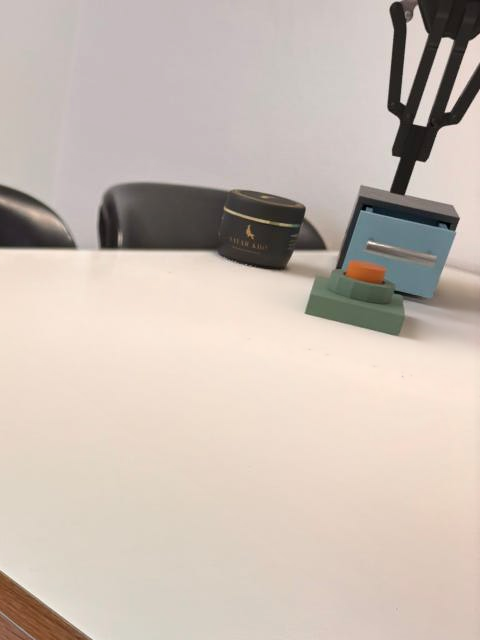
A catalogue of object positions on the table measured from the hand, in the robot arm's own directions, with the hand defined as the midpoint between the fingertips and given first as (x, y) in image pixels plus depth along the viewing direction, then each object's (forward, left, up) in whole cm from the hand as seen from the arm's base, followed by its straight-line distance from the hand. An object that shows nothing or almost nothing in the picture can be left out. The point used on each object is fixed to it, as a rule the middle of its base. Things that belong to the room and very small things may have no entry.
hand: (397, 192), depth 113 cm
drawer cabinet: (+20, -24, -13) cm, 34 cm away
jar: (+23, -3, -13) cm, 27 cm away
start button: (0, +1, -9) cm, 9 cm away
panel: (0, +1, -13) cm, 13 cm away
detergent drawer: (+12, -16, -12) cm, 23 cm away
